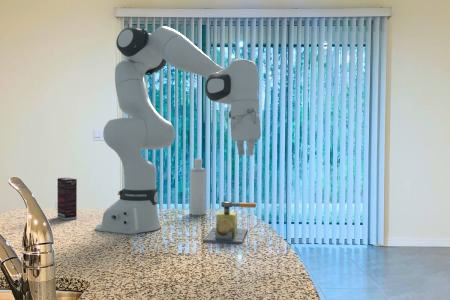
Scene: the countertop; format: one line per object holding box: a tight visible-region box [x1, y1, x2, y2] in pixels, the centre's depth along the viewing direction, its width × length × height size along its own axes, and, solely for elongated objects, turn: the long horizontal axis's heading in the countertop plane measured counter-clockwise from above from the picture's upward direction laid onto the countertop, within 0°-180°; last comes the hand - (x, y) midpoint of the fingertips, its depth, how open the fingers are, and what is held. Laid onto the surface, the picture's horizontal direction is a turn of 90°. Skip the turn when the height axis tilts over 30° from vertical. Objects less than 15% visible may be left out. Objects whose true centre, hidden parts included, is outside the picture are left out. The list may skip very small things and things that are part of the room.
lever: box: [220, 200, 257, 209], centre depth 126 cm, size 11×4×1 cm, turn 81°
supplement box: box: [56, 177, 78, 221], centre depth 154 cm, size 9×5×16 cm, turn 43°
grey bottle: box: [189, 158, 207, 216], centre depth 165 cm, size 7×7×25 cm
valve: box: [202, 207, 248, 245], centre depth 127 cm, size 12×17×10 cm
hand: (245, 155), depth 121 cm, fingers open, 8 cm apart
